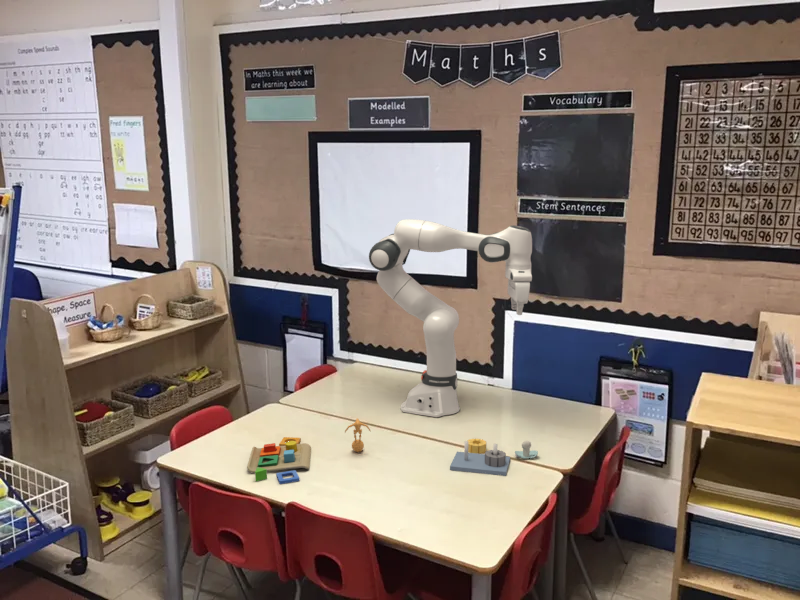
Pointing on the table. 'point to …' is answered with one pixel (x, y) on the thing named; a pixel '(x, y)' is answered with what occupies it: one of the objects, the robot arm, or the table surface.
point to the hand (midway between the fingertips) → (516, 312)
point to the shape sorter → (280, 459)
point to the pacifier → (526, 451)
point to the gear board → (481, 461)
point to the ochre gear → (476, 446)
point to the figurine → (358, 444)
